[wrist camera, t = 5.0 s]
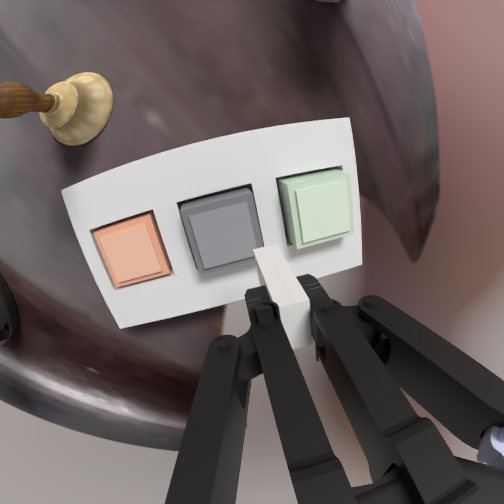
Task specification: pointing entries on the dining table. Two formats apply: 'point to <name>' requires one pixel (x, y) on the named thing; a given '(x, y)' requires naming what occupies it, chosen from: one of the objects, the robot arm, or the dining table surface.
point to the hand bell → (63, 106)
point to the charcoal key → (222, 229)
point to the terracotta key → (133, 249)
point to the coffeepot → (334, 0)
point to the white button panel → (205, 184)
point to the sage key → (317, 207)
